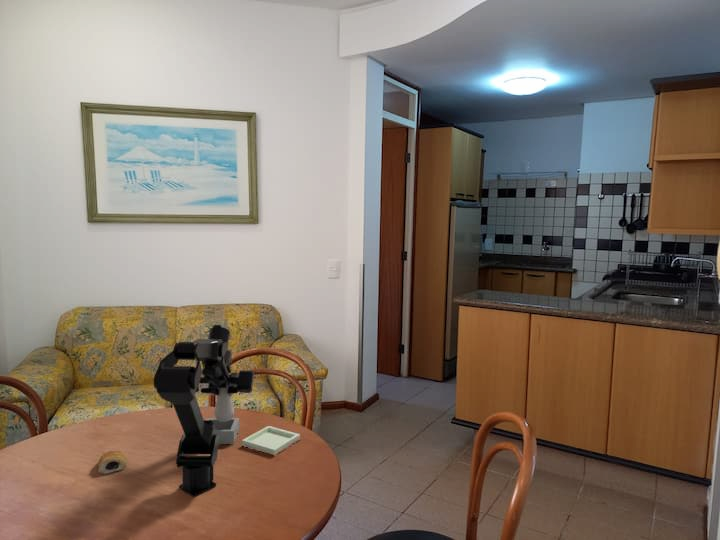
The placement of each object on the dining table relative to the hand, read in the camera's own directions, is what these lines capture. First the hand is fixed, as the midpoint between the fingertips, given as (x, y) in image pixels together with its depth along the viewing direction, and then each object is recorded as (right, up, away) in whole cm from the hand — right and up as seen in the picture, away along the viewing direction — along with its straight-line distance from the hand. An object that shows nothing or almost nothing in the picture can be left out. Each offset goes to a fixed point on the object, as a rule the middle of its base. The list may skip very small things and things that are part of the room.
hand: (224, 394), depth 146 cm
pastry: (-25, -15, -18) cm, 34 cm away
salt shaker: (0, -8, 0) cm, 8 cm away
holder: (-2, -13, +1) cm, 13 cm away
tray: (+14, -14, -3) cm, 20 cm away
